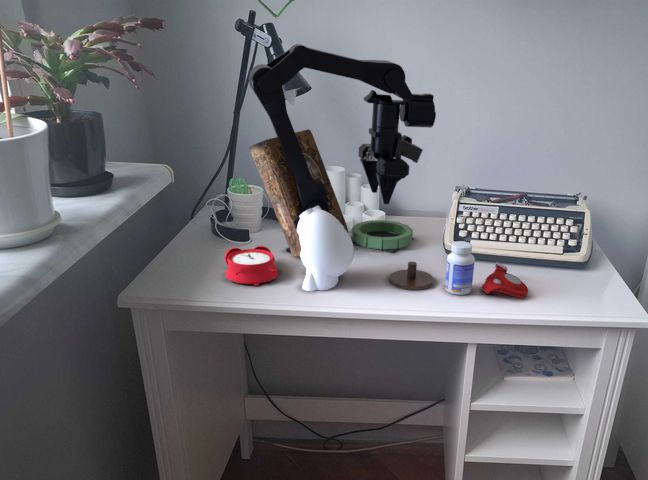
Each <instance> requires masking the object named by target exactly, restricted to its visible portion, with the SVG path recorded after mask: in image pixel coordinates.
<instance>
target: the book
mask: <svg viewBox="0 0 648 480" xmlns="http://www.w3.org/2000/svg"><path fill="white" fill-rule="evenodd" d="M295 134H296V137H297V139H298V142H299V145H300V147H301V150H302V152H303V155H304V158H305V160H306V163H307V165H308V168H309V171H310V173H311V176H312V177H313V179H316V178H318V177H319V178H320V179H321V181H322V182H323V184H324V186H325V191H326V195H327V196H328V198H329V199H330V202H328V205H329V211H328V213H330V214H331V215H333V216H334V217H335V218H336V219H337V220H338V221H339V222H340V223H341V224H342V225H343V227H344V229H345V230H346V231H347V232H348V233H349V228H348V224H347V222H346V220H345V217H344V215H343V212H342V209H341V206H340V204H339V200H338V199H337V198H338V197H337V196H336V193H335V190H334V188H333V184H332V182H331V179H330V177H329V174H328V172H327V169H326V166H325V164H324V161H323V159H322V156H321V153H320V151H319V148H318V145H317V142H316V140H315V138H314V135H313V133H312V131H311V129H305V130H304V129H303V130H300V131H296V132H295ZM248 149H249V152H250V154H251V157H252V159H253V162H254V164H255V167H256V169H257V172H258V174H259V176H260V179H261V181H262V184H263V187H264V189H265V191H266V194H267V197H268V198H269V201H270V203H271V206H272V209H273V211H274V214H275V216H276V218H277V221H278V223H279V226H280V229H281V231H282V234H283V236H284V238H285V241H286V243H287V245H288V248H290V251H291V252H290V253H291V255H292V256H293V257H294V258H297V259H299V258H300V259H301V257H300V252H301V244H300V239H299V234H298V233H297V228H296V226H295V223H294V219H296V218H297V217H298V216H299V215H300V214H301V213H302V212H303V211H302V209H301V205H300V201H299V197H298V193H297V189H296V185H295V181H294V177H293V175H292V172H291V170H290V167H289V165H288V162H287V160H286V157H285V155H284V152H283V150H282V147H281V145H280V142H279V140H278V137H277V136H276V137H272V138H267V139H265V140H262V141H259V142H257V143H255V144H252V145H250V146H248Z"/></svg>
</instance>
